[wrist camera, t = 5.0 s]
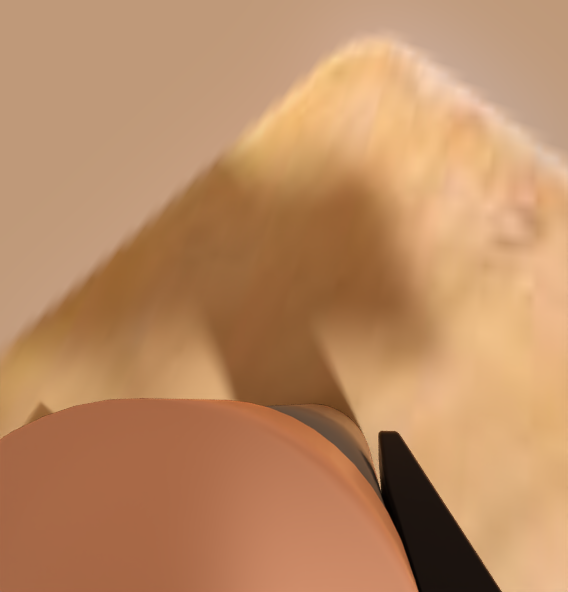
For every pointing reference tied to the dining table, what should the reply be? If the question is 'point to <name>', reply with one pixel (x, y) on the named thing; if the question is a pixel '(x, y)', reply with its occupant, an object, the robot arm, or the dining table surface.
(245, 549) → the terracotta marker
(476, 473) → the dining table surface
